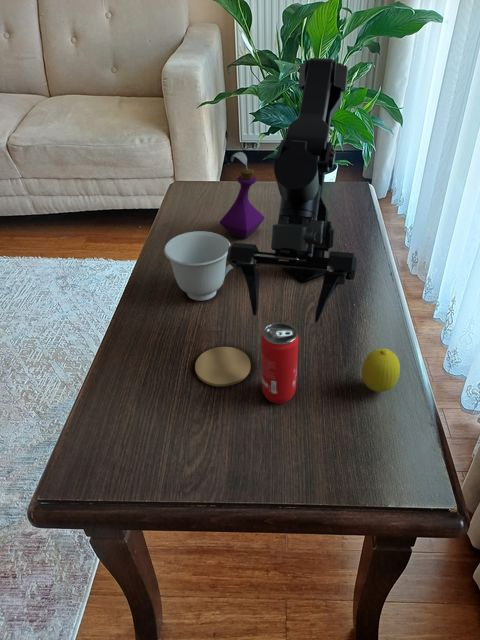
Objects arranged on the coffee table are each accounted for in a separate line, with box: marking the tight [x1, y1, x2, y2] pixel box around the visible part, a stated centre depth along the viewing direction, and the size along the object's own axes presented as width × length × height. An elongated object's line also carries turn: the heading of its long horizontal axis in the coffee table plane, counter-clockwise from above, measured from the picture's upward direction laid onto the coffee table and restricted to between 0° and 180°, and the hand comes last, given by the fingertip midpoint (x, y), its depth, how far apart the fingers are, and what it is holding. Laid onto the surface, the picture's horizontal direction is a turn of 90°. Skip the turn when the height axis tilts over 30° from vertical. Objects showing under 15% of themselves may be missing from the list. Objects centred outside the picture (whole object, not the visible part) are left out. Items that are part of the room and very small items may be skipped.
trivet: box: [194, 346, 252, 388], centre depth 85 cm, size 9×9×1 cm
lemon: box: [361, 347, 401, 393], centre depth 78 cm, size 6×6×8 cm
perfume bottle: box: [219, 151, 266, 240], centre depth 113 cm, size 8×8×18 cm
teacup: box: [163, 230, 234, 302], centre depth 98 cm, size 12×15×10 cm
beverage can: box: [261, 322, 300, 405], centre depth 76 cm, size 5×5×12 cm
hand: (285, 318), depth 77 cm, fingers open, 9 cm apart
